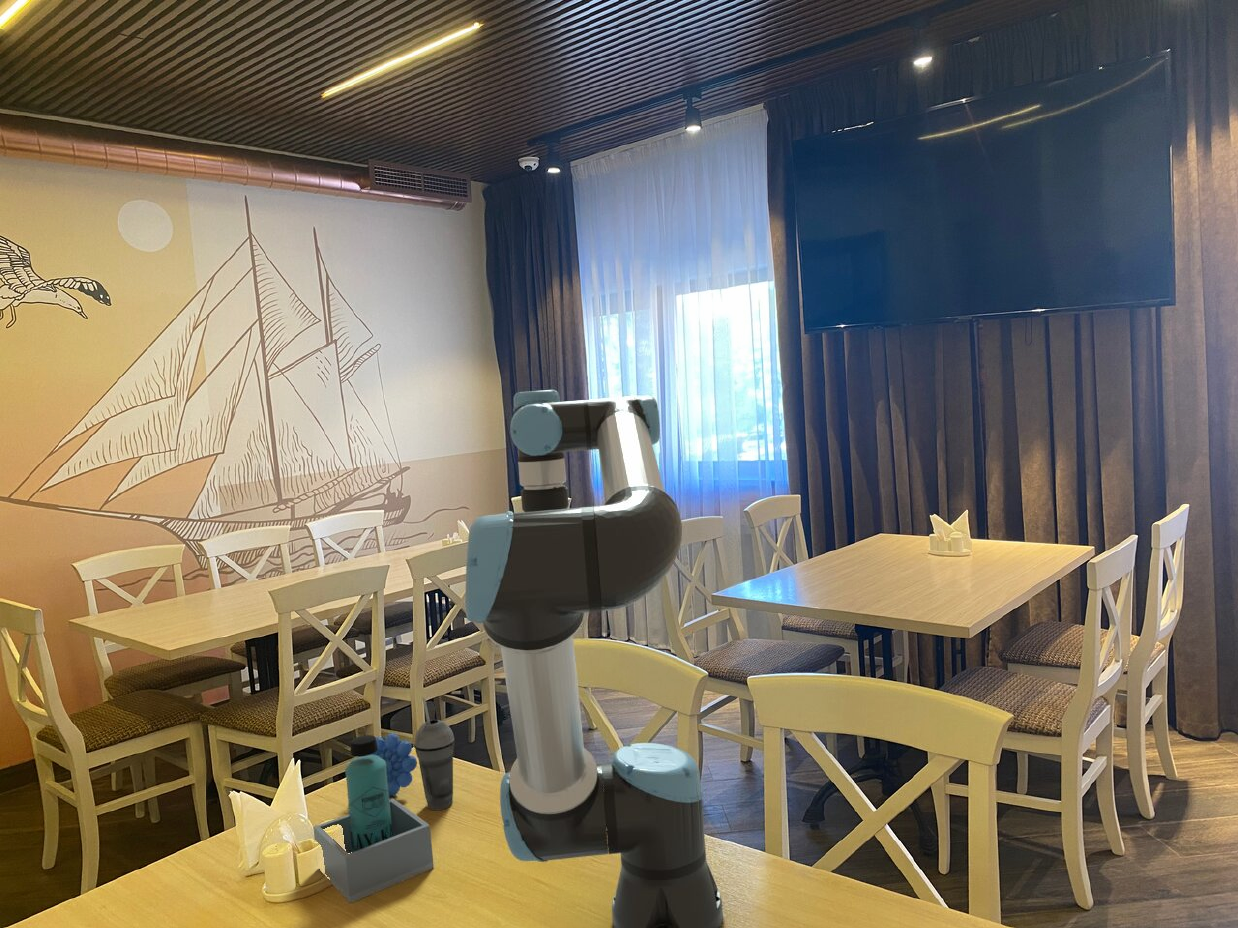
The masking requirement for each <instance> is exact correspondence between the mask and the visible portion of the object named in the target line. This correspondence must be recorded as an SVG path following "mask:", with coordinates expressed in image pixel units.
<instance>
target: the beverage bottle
mask: <svg viewBox="0 0 1238 928" xmlns="http://www.w3.org/2000/svg"><path fill="white" fill-rule="evenodd" d="M376 737H377V736H374V735H371V734H365V735H360V736H357V737H355V738H353V739H351V741H350V755H351V756H352V757H355V758H353V759H352V760H351V761H350V762H349V764H348V765H346V767H345V769H344V771H345V772H344V773H345V778H346V789H347V803H348V807H347V809H348V814H347V815H349V816H350V819H349V820H350V821H349V822H350V824H349V825H350V826H351V827H350V828H351V832H350V837H351V840H352V843H351V845H352V849H353V851H352V852H355V851H357V850H360V849H363V848H365V847H368V846H370V845H373V844H376V843H378V842H381V841H383V840H386V839H389V838H391V837H393V836H394V834H393V831H392V824H393V823H392V824H391V813H390V804H391V803H390V802H389V800H390V796H389V795H390V794H389V791H388V783H387V773H386V762H385V760H383V759H382V758H380V757H379V756H377V755H371V754H373V753H375V752H376V751H377V750H378V745H377V741H376Z"/></svg>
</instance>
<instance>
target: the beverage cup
mask: <svg viewBox="0 0 1238 928" xmlns="http://www.w3.org/2000/svg"><path fill="white" fill-rule="evenodd" d="M422 702H423V707H424V712H425V717H426V722H424V723H422V725H420V726H419V728H418V729H417V731H416V733H415V738H414V746H413V747H414V749H415V754H416V757H417V759H418V764H419V769H420V775H421V780H422V786H423V790H424V797H425V799H426V800H425V801H426V804H427V808H428V809H429V810H432V811H441V810H445V809H447V808H450V807H451V806H452V805H453V804H454V800H453V797H454V769H453V768H454V749H455V748H454V747H455V741H456V740H455V737H454V733H453V730H452V729H451V728H450V725H448V724H447V723H445V721H442V720H440V719H431V718H430V715H429V714H430V713H429V709H428V706H427V700H426V697H422Z"/></svg>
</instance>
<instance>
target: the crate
mask: <svg viewBox="0 0 1238 928" xmlns="http://www.w3.org/2000/svg"><path fill="white" fill-rule="evenodd" d="M389 802H390V803H391V804H390V813H391V824H392V823H393V824H392V831H393V834H394V836H393V837H391V838H389V839H386V840H383V841H381V842H378V843H376V844H373V845H370V846H368V847H365V848H363V849H360V850H357V851H355V852H352V851H353V849H352V845H351V843H352V840H351V837H350V832H351V828H350V827H351V826H350V825H349V824H350V822H349V821H350V820H349V819H350V816H349V815H348V814H345V815H343V816H340V817H336V818H334V819H331V820H329V821H326V822H323V823H320V824H318V825H315V826H314V825H313V837H314V838H313V839H314V841H315V840H316V841H317V842H318V843H319V844H320V845H321V847H322V850H323V857H324V865H325V874H326V875H327V877H329V878H330V881H331V882H330V881H329V882H330V883H331V884H332V886H333V887H334V888H335V889H336V890H337V891H338V892H339V893H340V894H341V895H342V897H344V898H345V899H346V900H347V901H348V902H349V904H352V903H353V902H356V901H359V900H361V899H363V898H364V899H365V898H366V897H368V896H371V895H373V894H376V893H378V892H380V891H383V890H385V889H387V888H391V887H392V886H394V885H397V884H399V883H401V882H404V881H406V880H409V879H411V878H414V877H416V876H419V875H420V874H423V873H425V872H426V873H427V872H428V871H431V870H433V869H434V868H435V867H434V856H433V846H432V835H431V825H430V824H429V823H427V822H426V821H424V820H423V819H422V818H420V817H419V815H416V814H415V813H414V812H413V811H411V810H410V809H409V808H407V807H406V806H405V805H403V804H402V803H401V802H399V801H397V800H396V799H395V798H389ZM337 824H339V825H341V826H342V828H343V835H344V844H345V849H346V851H345V850H344V849H343V848H342V847H341V846H340V845H339V844H338V843H337V842H336V841H335V840H334V839H332V838H331V837H330V836H329V835H328V834H327V833H326V832H325V831H324V830H323V829H325V828H327V827H330V826H332V825H337ZM351 852H352V853H351ZM348 853H350V854H348Z"/></svg>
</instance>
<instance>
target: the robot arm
mask: <svg viewBox="0 0 1238 928" xmlns="http://www.w3.org/2000/svg"><path fill="white" fill-rule="evenodd" d="M512 412H513V415H512V417H511V421H510V424H509V428H510V431H509V432H510V438H511V440H512V442H513V444H514V446H515V447H517V455H518V456H517V459H518V462H517V464H518V477H519V485H520V486H522V487H523V488H522V489H521V490H520V496H521V510H522V512H513V511H512V510H511V511H510V510H507V511H505V512H504V513H498V514H489V515H483V516H479V517H477V518H476V519H474V521H473V522H472V523H471V525H470V527H469V528H470V529H469V531H468V539H467V548H466V549H467V550H466V551H467V552H466V563H465V564H466V565H465V566H466V567H465V596H464V597H465V616H466V618H467V621H469V622H470V623H473V622H474V623H476V624H483V625H482V626H483V628H484V631H485V634H486V636H487V637H488V638H489V639H490V640H491V641H492V642H493V643H494V644H495V645H497V646H499V647H500V652H501V657H502V658H501V659H502V666H503V671H504V672H503V673H504V679H505V684H506V692H507V699H508V705H509V710H510V711H509V712H510V717H511V725H512V731H513V739H514V744H515V749H516V750H515V752H516V757H517V758H516V759H515V761H514V762H513V764H512V766H511V769H510V771H509V772H506V773H505V774H504V775H503V776H502V779H501V782H500V791H499V793H500V794H499V799H500V801H499V802H500V815H501V819H502V821H503V822H502V823H503V824H502V825H503V828H502V829H503V833H504V837H505V840H506V843H507V846H508V849H509V850H510V852H511V855H513V857H514V858H516V860H518V861H522V862H541V863H547V862H548V861H556V860H567V859H575V858H583V857H585V858H586V857H593V856H594V857H595V856H602V855H603V856H604V855H613V854H614V855H616V854H620V863H621V865H620V871H619V875H618V881H617V885H616V891H615V893H614V896H613V899H612V902H611V913H612V914H611V915H612V916H611V917H612V925H613V928H721V925H722V924H723V919H724V912H723V901H722V899H723V898H722V896H721V893H720V891H719V889H718V886H717V884H716V881H715V878H714V876H713V874H712V871H711V867H710V866H709V864H708V860H707V853H706V839H705V828H704V827H705V826H704V812H703V800H702V799H703V796H704V789H703V788H702V784H701V777H700V776H701V774H700V769H699V765H698V764H697V761H696V760H695V759H694V757H692V756H691V755H690V754H689V753H687V752H686V751H684V750H682V749H680V748H677V747H675V746H671V745H667V744H663V743H655V742H636V743H630V744H629V745H625V746H621V747H620V748H618V749H617V750H616V751H615V752H614V754H613V757H612V759H611V761H609V762H598V763H597V762H596V760H595V759H594V757H593V755H592V754H591V753H590V751H589V750H588V749H586V748H585V747H584V735H583V727H582V726H583V725H582V714H581V703H580V702H581V701H580V694H579V693H580V692H579V681H578V673H577V665H576V664H577V661H576V653H575V651H576V650H575V641H574V636H575V635H576V634H577V632H578V631H579V630H580V628H581V627H582V625H583V622H584V621H587V620H588V618H587V617H588V616H587V613H595V612H596V613H597V612H606V611H607V612H608V611H614V610H619V609H623V608H626V607H628V606H630V605H633V604H634V603H636V602H638V601H640V600H641V599H643V598H644V597H645V596H647V595H648V594H650V593H651V592H652V591H653V590H655V589H656V588H657V586H658V585H659V584H660V583H661V582H662V581H663V579H664V578H665V577H666V576H667V574H668V573H669V572H670V570H671V569H672V567H673V565H674V563H675V561H676V559H677V557H678V555H679V553H680V548H681V544H682V540H683V538H682V537H683V525H682V518H681V516H680V512H679V508H678V506H677V504H676V502H675V501H674V499H673V498H672V496H671V495H670V494H669V493H667V492H666V491H665V488H664V484H663V481H662V476H661V473H660V470H659V466H658V461H657V457H656V454H655V450H654V446H653V445H655V444H657V443H658V442H659V441H660V438H661V437H660V436H661V433H660V432H661V429H660V427H661V425H660V424H661V423H660V414H659V413H660V411H659V406H658V402H657V400H656V399H655V398H654V397H653V396H650V395H627V396H619V397H617V396H616V397H606V398H605V397H604V398H596V399H595V398H594V399H582V400H581V399H580V400H568V401H561V398H560V393H559V392H558V391H557V390H555V389H545V390H544V389H543V390H542V389H541V390H531V391H530V390H529V391H520V392H515V394H514V396H513V409H512ZM590 450H591V451H592V450H593V451H595V450H598V456H599V465H600V471H601V472H600V473H601V481H602V489H603V495H604V496H603V497H604V503H603V505H602V504H601V505H593V506H583V507H571V508H569V493H568V487H567V485H563V484H564V483H566V482H567V473H566V472H567V471H566V464H565V462H566V461H565V452H566V453H567V452H577V451H590Z"/></svg>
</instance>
